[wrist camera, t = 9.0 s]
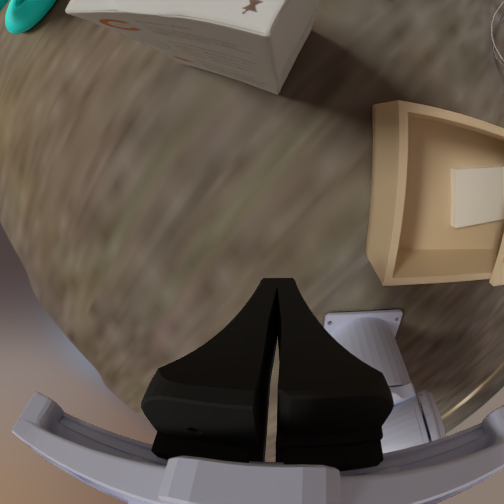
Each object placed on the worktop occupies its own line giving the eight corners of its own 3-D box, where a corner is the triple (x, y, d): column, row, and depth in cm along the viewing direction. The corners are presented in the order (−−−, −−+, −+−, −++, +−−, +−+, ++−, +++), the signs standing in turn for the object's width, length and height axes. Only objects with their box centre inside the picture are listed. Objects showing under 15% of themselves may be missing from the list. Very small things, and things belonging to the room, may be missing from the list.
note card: (500, 215, 17) (504, 218, 16) (450, 224, 18) (455, 228, 18) (502, 165, 15) (507, 166, 14) (450, 168, 16) (455, 169, 16)
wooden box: (504, 251, 19) (530, 274, 15) (365, 253, 21) (382, 285, 17) (521, 142, 14) (553, 152, 9) (371, 104, 16) (398, 100, 12)
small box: (312, 29, 14) (347, -78, 2) (278, 97, 17) (270, 42, 5) (212, -1, 13) (139, -94, 2) (178, 63, 16) (58, 16, 4)
